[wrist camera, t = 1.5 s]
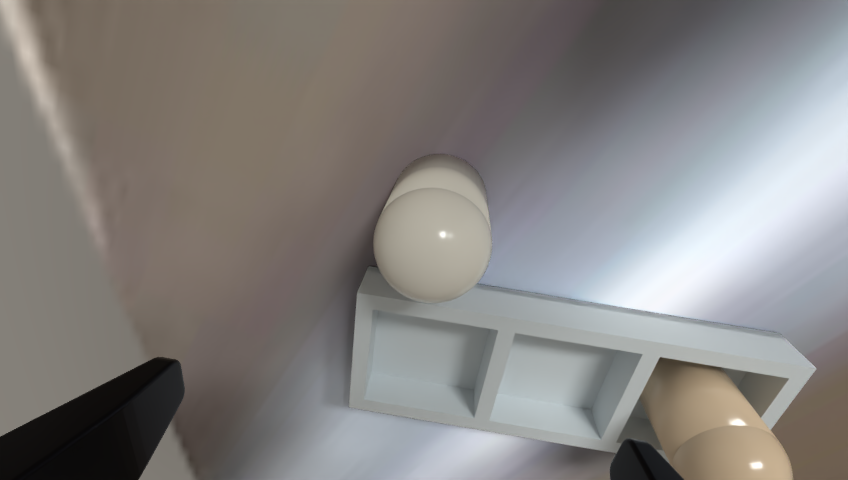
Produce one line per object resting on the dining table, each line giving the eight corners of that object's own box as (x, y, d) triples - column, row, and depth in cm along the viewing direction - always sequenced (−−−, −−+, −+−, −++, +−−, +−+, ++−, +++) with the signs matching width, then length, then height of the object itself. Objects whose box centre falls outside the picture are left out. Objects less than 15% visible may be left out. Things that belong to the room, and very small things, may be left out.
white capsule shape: (495, 162, 19) (509, 224, 12) (476, 248, 21) (481, 337, 14) (398, 146, 19) (365, 201, 13) (389, 233, 21) (357, 316, 15)
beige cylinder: (738, 358, 21) (846, 486, 15) (701, 417, 23) (784, 552, 17) (653, 344, 21) (727, 466, 15) (623, 404, 23) (678, 533, 17)
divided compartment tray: (779, 333, 21) (816, 368, 19) (712, 433, 24) (737, 473, 22) (368, 265, 21) (357, 292, 19) (359, 374, 25) (348, 407, 23)
